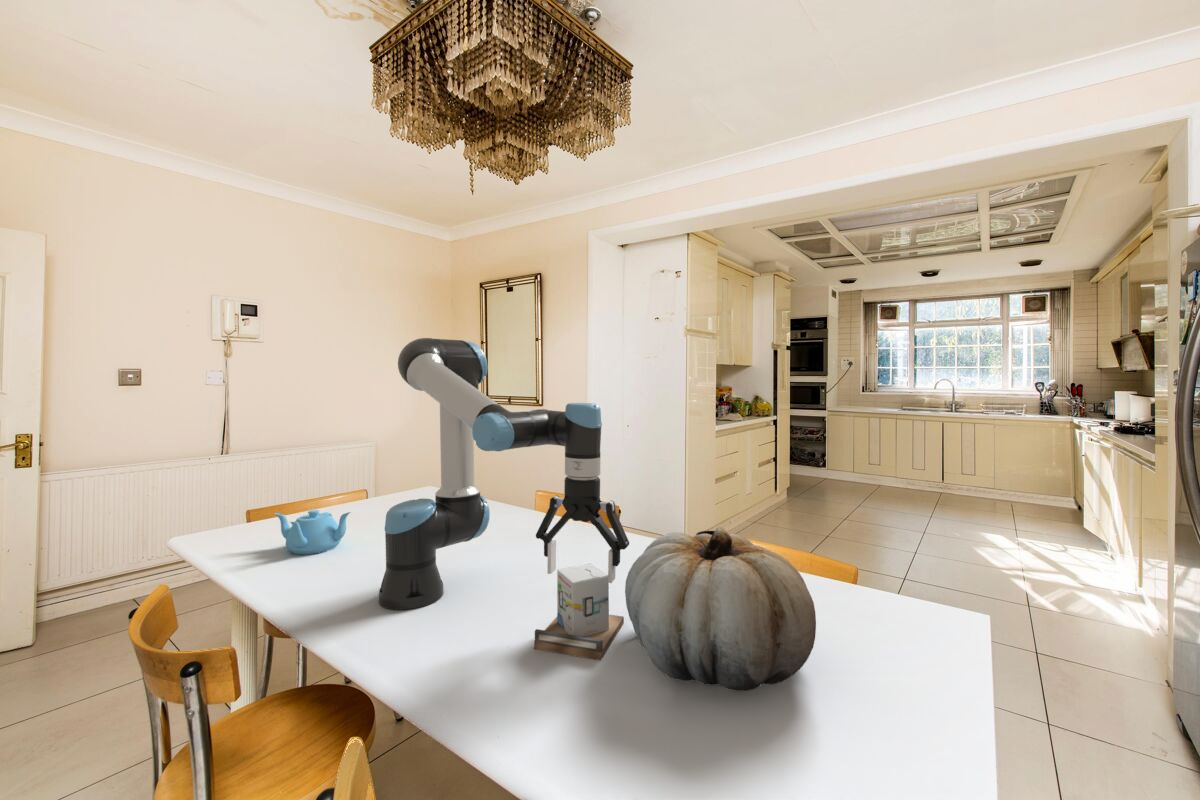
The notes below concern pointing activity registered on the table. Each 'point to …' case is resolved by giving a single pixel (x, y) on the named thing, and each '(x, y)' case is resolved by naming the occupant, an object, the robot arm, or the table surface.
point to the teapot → (312, 532)
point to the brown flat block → (577, 640)
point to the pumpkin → (720, 610)
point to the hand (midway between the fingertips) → (581, 576)
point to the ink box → (583, 600)
